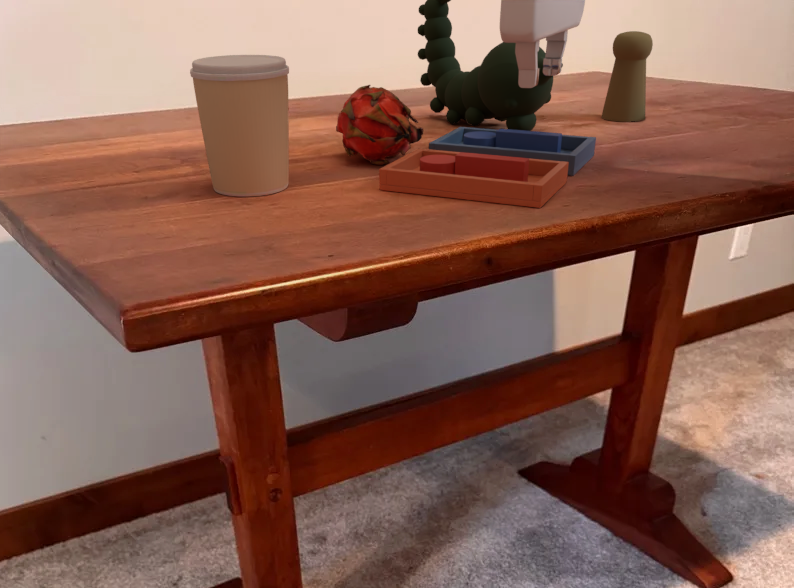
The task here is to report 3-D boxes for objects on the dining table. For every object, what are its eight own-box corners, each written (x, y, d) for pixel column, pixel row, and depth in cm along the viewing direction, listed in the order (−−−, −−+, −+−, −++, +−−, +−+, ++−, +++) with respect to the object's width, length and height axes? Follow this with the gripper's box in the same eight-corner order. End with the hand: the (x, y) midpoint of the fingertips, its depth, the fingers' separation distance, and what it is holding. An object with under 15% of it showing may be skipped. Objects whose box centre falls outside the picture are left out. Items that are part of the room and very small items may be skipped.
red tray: (566, 182, 82) (568, 161, 81) (540, 208, 74) (542, 185, 73) (418, 167, 88) (418, 148, 87) (379, 190, 80) (379, 168, 79)
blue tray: (594, 155, 92) (596, 137, 91) (573, 175, 84) (575, 155, 83) (459, 144, 98) (459, 126, 97) (428, 162, 90) (428, 142, 89)
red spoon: (530, 181, 80) (533, 155, 79) (519, 190, 77) (521, 164, 76) (428, 170, 85) (428, 146, 83) (413, 179, 81) (413, 154, 80)
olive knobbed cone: (623, 123, 109) (635, 34, 103) (592, 116, 113) (601, 31, 108) (654, 118, 111) (667, 32, 106) (622, 112, 116) (633, 28, 110)
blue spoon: (562, 154, 91) (565, 131, 89) (553, 161, 88) (555, 138, 86) (469, 145, 95) (470, 124, 94) (458, 152, 92) (458, 130, 90)
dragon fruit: (356, 160, 98) (407, 197, 90) (305, 125, 92) (355, 161, 84) (395, 99, 96) (450, 131, 88) (346, 59, 90) (401, 89, 82)
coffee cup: (308, 177, 85) (301, 54, 79) (278, 201, 77) (267, 67, 71) (226, 173, 87) (213, 53, 81) (189, 196, 79) (171, 65, 73)
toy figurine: (406, 130, 114) (533, 142, 96) (398, -19, 106) (535, -37, 88) (456, 122, 119) (585, 132, 101) (452, -22, 111) (593, -39, 92)
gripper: (553, -69, 71) (543, 96, 78) (601, -67, 87) (589, 69, 94) (485, -66, 73) (481, 94, 80) (545, -65, 89) (537, 68, 96)
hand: (540, 80), depth 87 cm, fingers open, 8 cm apart
